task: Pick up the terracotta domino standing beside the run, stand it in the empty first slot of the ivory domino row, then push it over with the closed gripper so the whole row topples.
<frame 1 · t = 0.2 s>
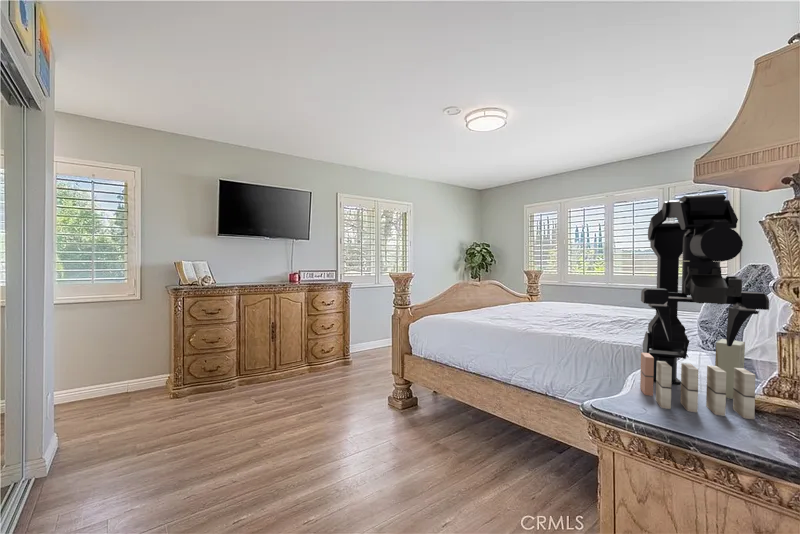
hand: (698, 343, 76), 14 cm above the nightstand top, tool pointing down, fingers open, 9 cm apart
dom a: (646, 392, 92), on the nightstand top
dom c: (688, 407, 82), on the nightstand top
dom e: (743, 414, 79), on the nightstand top
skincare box: (728, 396, 90), on the nightstand top
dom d: (715, 410, 80), on the nightstand top
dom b: (662, 404, 84), on the nightstand top
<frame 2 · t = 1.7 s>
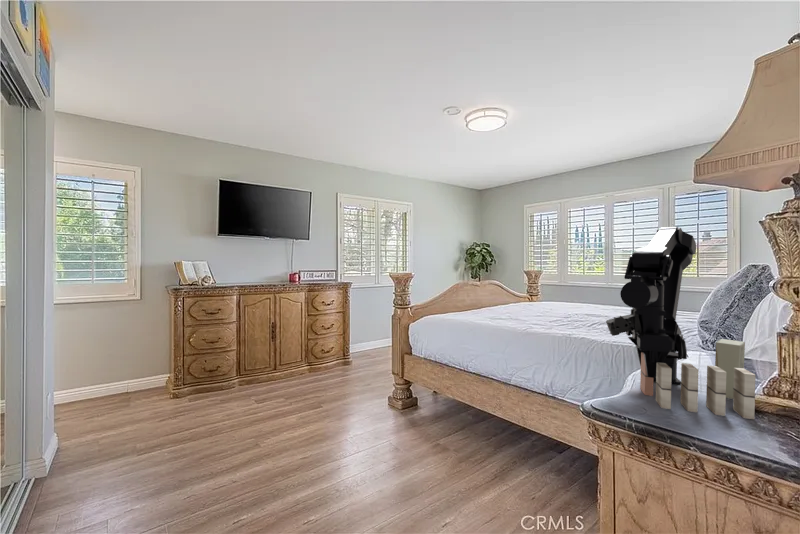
hand: (647, 373, 92), 4 cm above the nightstand top, tool pointing down, fingers open, 7 cm apart
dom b: (662, 406, 84), on the nightstand top, touching gripper
everything else where it was.
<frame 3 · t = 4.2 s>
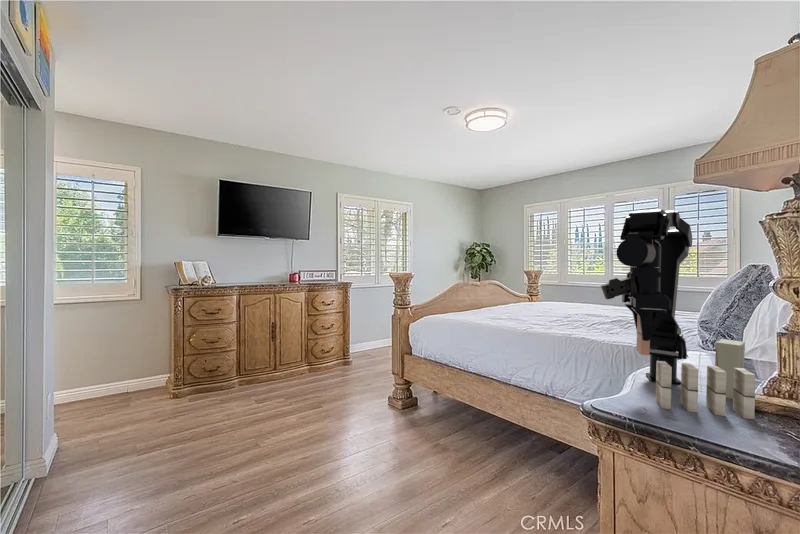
hand: (643, 338, 88), 13 cm above the nightstand top, tool pointing down, fingers closed on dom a, 5 cm apart
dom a: (642, 352, 88), point 10 cm above the nightstand top, touching gripper
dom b: (662, 404, 84), on the nightstand top
everything else where it was.
when the fingers open (4 cm above the nightstand top, at t = 6.3 s): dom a stays where it is, on the nightstand top.
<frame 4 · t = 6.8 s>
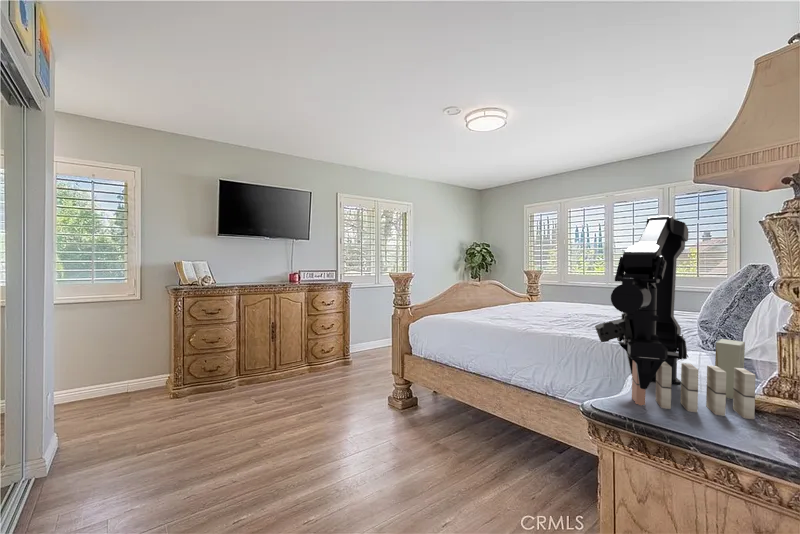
hand: (638, 382, 85), 4 cm above the nightstand top, tool pointing down, fingers open, 9 cm apart
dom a: (638, 401, 85), on the nightstand top
everything else where it was.
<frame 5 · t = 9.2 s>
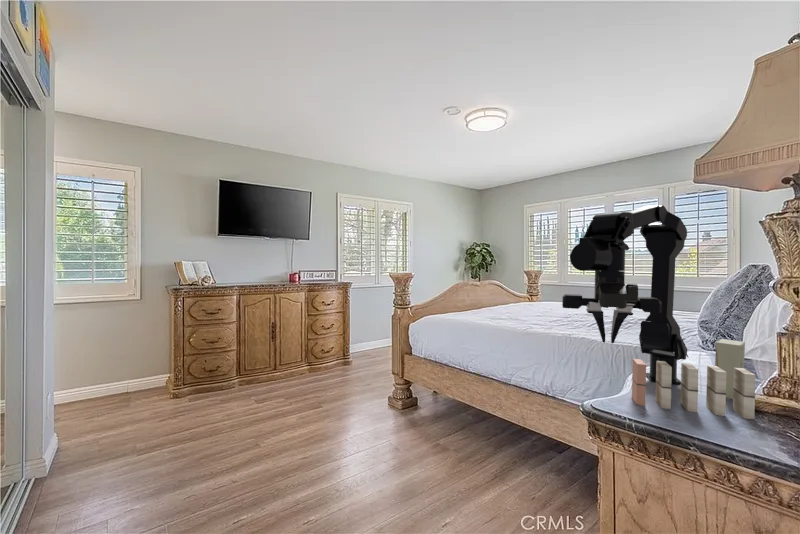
hand: (608, 342, 87), 12 cm above the nightstand top, tool pointing down, fingers closed
nothing on the nightstand top moved.
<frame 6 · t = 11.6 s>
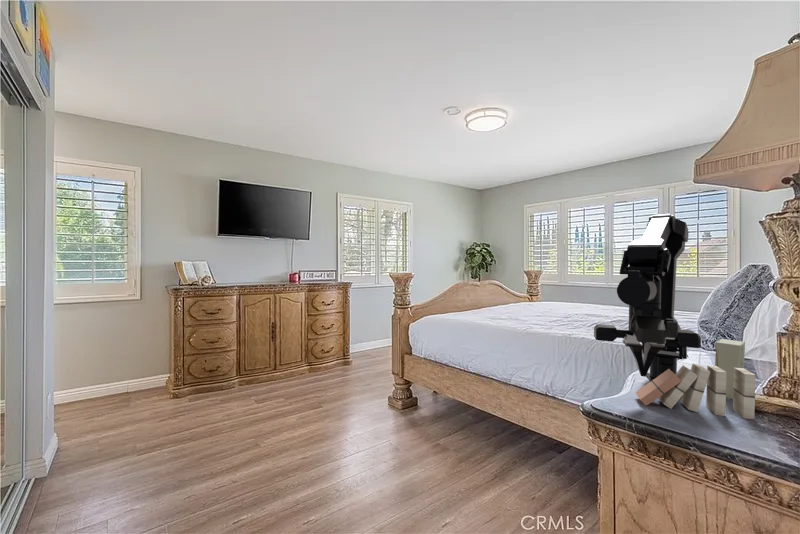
hand: (642, 376, 85), 5 cm above the nightstand top, tool pointing down, fingers closed
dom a: (640, 399, 85), point 1 cm above the nightstand top, tilted 46°
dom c: (688, 406, 82), on the nightstand top, tilted 13°
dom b: (664, 402, 84), on the nightstand top, tilted 32°
everything else where it was.
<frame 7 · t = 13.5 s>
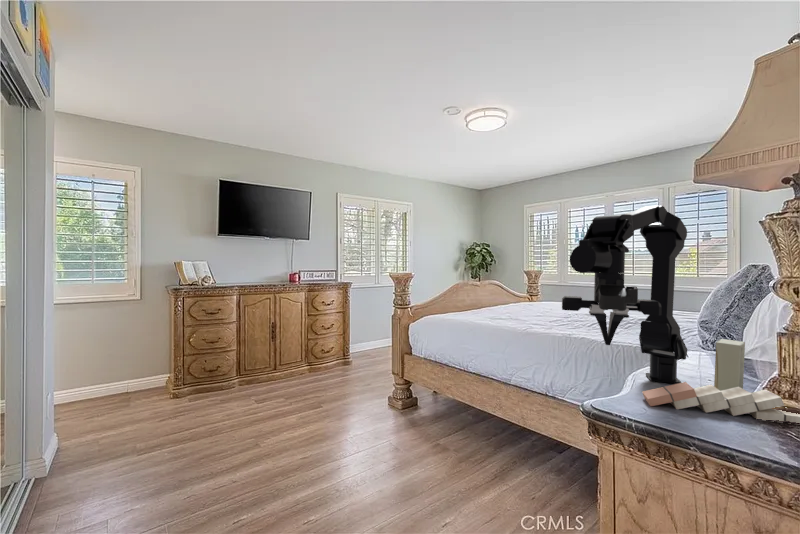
hand: (607, 344, 87), 12 cm above the nightstand top, tool pointing down, fingers closed
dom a: (646, 398, 85), point 1 cm above the nightstand top, tilted 69°, touching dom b
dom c: (699, 404, 81), point 1 cm above the nightstand top, tilted 69°, touching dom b, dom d
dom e: (750, 411, 79), point 1 cm above the nightstand top, tilted 90°, touching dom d
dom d: (725, 407, 80), point 1 cm above the nightstand top, tilted 69°, touching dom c, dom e
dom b: (671, 401, 83), point 1 cm above the nightstand top, tilted 69°, touching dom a, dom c
everything else where it was.
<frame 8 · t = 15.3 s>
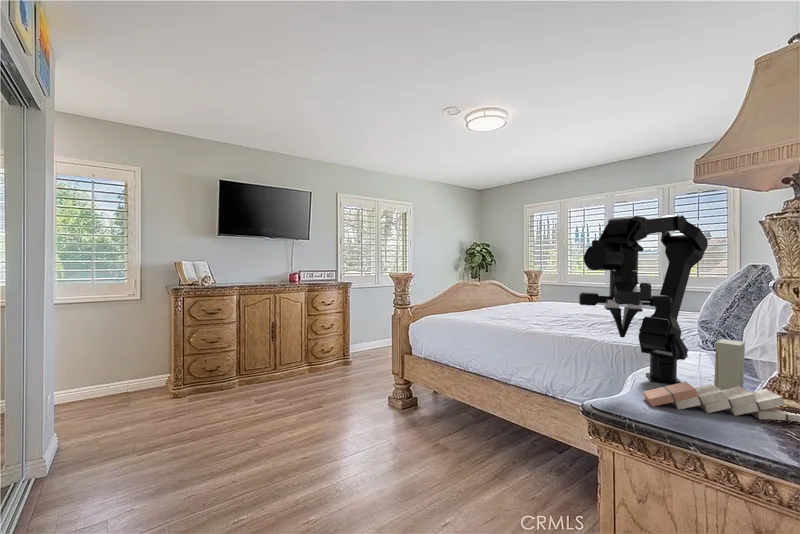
hand: (622, 337, 94), 12 cm above the nightstand top, tool pointing down, fingers closed
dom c: (700, 404, 81), point 1 cm above the nightstand top, tilted 69°, touching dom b, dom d
at the end: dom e tilted 90°; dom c tilted 69°; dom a inside the target area (0.5 cm from its centre), point 0.7 cm above the nightstand top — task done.
